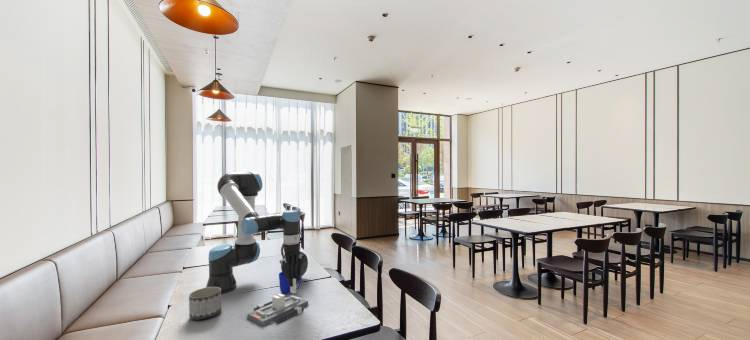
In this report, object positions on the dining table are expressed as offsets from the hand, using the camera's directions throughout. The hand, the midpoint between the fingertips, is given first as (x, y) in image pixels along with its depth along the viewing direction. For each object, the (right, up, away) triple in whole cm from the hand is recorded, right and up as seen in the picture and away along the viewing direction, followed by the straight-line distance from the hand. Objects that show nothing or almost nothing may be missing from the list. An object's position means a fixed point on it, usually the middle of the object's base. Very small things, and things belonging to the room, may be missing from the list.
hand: (293, 292), depth 144 cm
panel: (-5, -6, -6) cm, 10 cm away
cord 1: (-12, -6, -1) cm, 13 cm away
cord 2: (+2, -6, -11) cm, 13 cm away
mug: (-6, -7, +16) cm, 18 cm away
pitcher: (-9, -7, +32) cm, 34 cm away
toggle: (-5, -4, -6) cm, 9 cm away
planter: (-37, -7, -8) cm, 39 cm away
